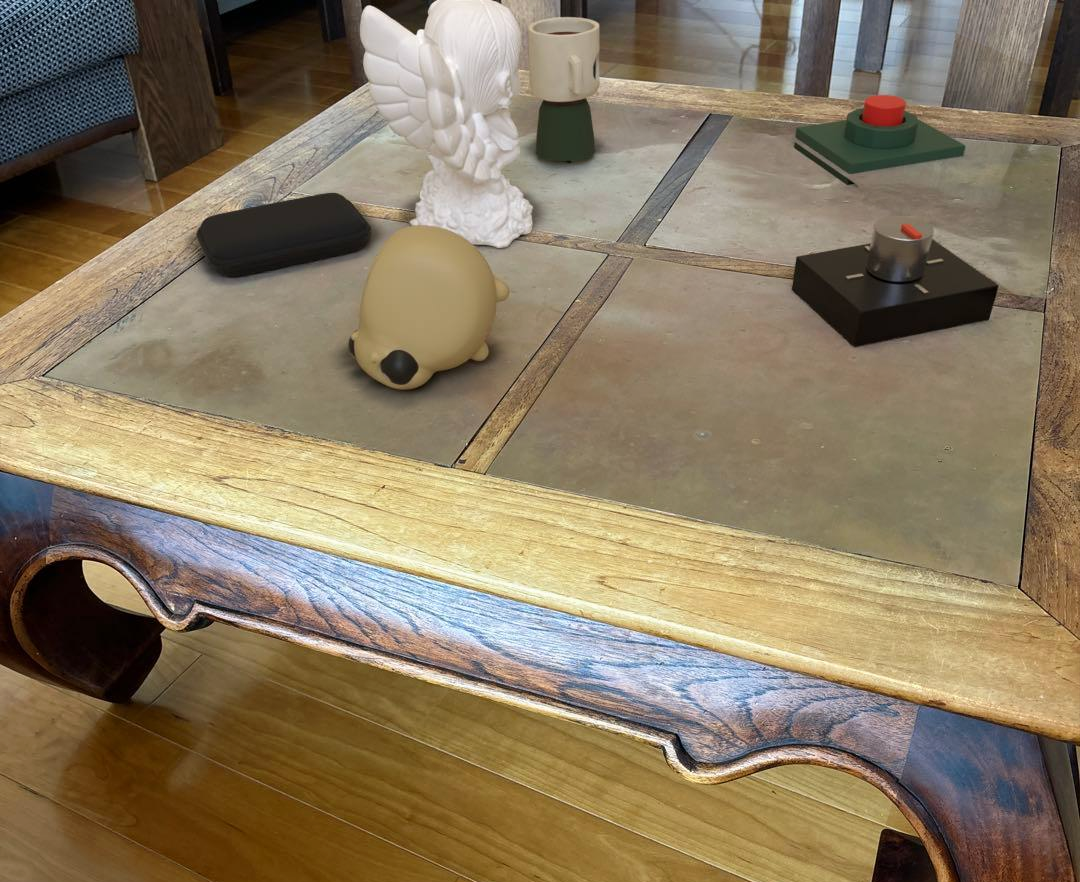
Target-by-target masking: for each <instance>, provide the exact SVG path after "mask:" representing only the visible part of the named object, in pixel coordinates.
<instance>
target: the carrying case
mask: <svg viewBox="0 0 1080 882" xmlns="http://www.w3.org/2000/svg"><path fill="white" fill-rule="evenodd" d="M372 231H373V229H372V226H371V225H370V224H369V223H368V221H367V220H366V219H365V218H364V217H363V215H362V214H361V212H359V210H358V209H357V208H356V206H355V205H354V204H353V202H352V201H350V200H349V199H347V198H346V197H345V196H344V195H342V194H341V193H338V192H324V193H318V194H314V195H308V196H302V197H297V198H292V199H287V200H281V201H277V202H272V203H265V204H262V205H261V204H260V205H256V206H250V207H247V208H241V209H235V210H231V211H226V212H222V213H216V214H213V215H210V216H207V217H205V218H204V219H203V220H202V222H201V224H200V226H199V227H198V229H197V231H196V234H195V235H196V240H197V242H198V244H199V246H200V249H201V250H202V253H203V255H204V257H205V260H206V261H207V263H208V265H209V267H211V269H213V270H215V271H217V272H218V273H219V274H221V275H222V276H225V277H231V278H232V277H234V278H235V277H242V276H247V275H251V274H257V273H261V272H265V271H270V270H276V269H280V268H285V267H290V266H294V265H300V264H304V263H309V262H313V261H318V260H323V259H327V258H331V257H336V256H341V255H345V254H349V253H354V252H356V251H359V250H361V249H362V248H364V247H365V246H366V244H367V242H368V241H369V240H370V238H371V237H372V233H373V232H372Z"/></svg>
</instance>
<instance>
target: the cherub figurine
mask: <svg viewBox="0 0 1080 882" xmlns="http://www.w3.org/2000/svg"><path fill="white" fill-rule="evenodd" d="M427 14H428V15H427V18H426V22H425V25H424V28H423V29H422V28H421V29H418V30H417V32H416V34H414V33H413V32H412V31H410V30H409V29H408V28H406V27H405V26H403V24H402V25H401V23H399V22H398V21H397V20H396V19H393V18H391V17H390V16H389V15H388V14H386V13H385V12H383V11H381V9H379V8H377V7H376V6H373V5H366V6H365V7H364V8H363V10H362V13H361V16H360V24H359V36H360V42H361V44H362V46H363V48H364V50H365V52H364V54H363V58H362V63H363V65H362V66H363V70H364V74H365V76H366V78H367V80H368V92H369V97H370V98H371V100H372V101H373V103H375V106H376V110H377V112H378V114H379V115H380V116H381V117H382V119H384V120H386V121H387V124H388V127H389V128H390V130H391V131H392V132H393V133H394V134H396V135H397V136H398V137H403V138H404V139H405V141H406V142H407V143H408V144H409V145H411V146H412V147H414V148H415V149H417V150H426V151H427V152H429V154H428V155H427V159H428V160H429V162H430V163H431V165H432V169H431V170H429V171H428V172H427V173H425V175H424V178H423V181H422V189H421V190H420V191H419V192H418V193H419V194H418V197H419V199H420V200H419V201H417V202H415V208H414V212H415V218H413V219H410V221H409V224H410V226H414V225H428V226H435V227H440V228H443V229H447V230H449V231H452V232H454V233H456V234H458V235H460V236H462V237H463V238H465V239H467V240H468V241H469V242H471V243H472V244H473V245H481V246H482V245H483V246H485V245H486V246H492V247H495V248H497V249H503V248H508V247H509V246H510V244H512V241H514V240H516V239H518V238H519V237H520V236H521V235H530V234H531V233H532V230H533V223H534V222H533V216H532V214H533V210H534V207H533V205H532V204H530V201H529V200H528V199H526V198H524V193H523V192H522V191H521V189H519V187H518V186H516V185H511V184H512V183H511V181H510V178H506V177H505V175H504V174H502V170H503V168H505V167H506V166H508V165H509V164H511V163H513V162H515V161H517V160H518V158H519V157H520V156H521V146H520V140H519V132H518V128H517V126H516V124H515V122H514V121H513V119H512V118H511V111H510V110H509V108H507V107H509V106H511V105H512V103H513V101H514V100H516V99H517V98H518V97H519V95H520V93H521V89H522V88H521V87H522V84H521V83H522V82H521V78H520V77H521V76H520V72H519V71H520V70H519V67H518V66H519V62H520V54H521V51H522V50H521V49H522V32H521V28H520V26H519V23H518V22H517V20H516V17H515V16H514V13H512V11H511V10H510V9H509V8H508V7H507V6H505V5H503V4H502V3H500V2H498V1H496V0H435V1H434V2H432V3H431V4H430V6H429V8H428V10H427Z"/></svg>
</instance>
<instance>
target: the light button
mask: <svg viewBox="0 0 1080 882" xmlns="http://www.w3.org/2000/svg"><path fill="white" fill-rule="evenodd" d="M906 106H907V101H906V100H905V99H903V98H902V97H899V96H895V95H890V94H889V95H888V94H876V95H872V96H868V97H867V98H865V99H864V104H863V108H864V109H863V115H862V121H863V122H864V123H867V124H871V125H875V126H896V125H901V124H902V122H903V117H904V112H905V111H906Z"/></svg>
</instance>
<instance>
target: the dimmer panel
mask: <svg viewBox="0 0 1080 882" xmlns="http://www.w3.org/2000/svg"><path fill="white" fill-rule="evenodd" d="M870 245H871V242H869V243H865V244H857V245H852V246H848V247H842V248H836V249H831V250H825V251H819V252H814V253H808V254H802V255H798V256H796V257H795V263H794V264H795V265H794V269H793V270H794V271H793V278H792V284H791V291H792V292H793V293H794V294H795V295H797V296H798V297H799V298H800V299H801V300H802V301H803V302H804V303H806V304H807V305H808V307H810V308H811V309H812V310H813V311H814V312H815V313H816V314H818V316H820V317H821V318H822V319H823V320H824V321H825V322H826V323H827V324H828V325H830V326H831V328H833V329H834V330H835V331H836V332H837V333H838V334H839V335H841V336H842V337H843V338H844V339H845V340H846V341H847V342H848V343H849V344H850V345H852V347H854V348H857V347H861V346H866V345H871V344H876V343H881V342H886V341H890V340H891V341H892V340H896V339H901V338H906V337H911V336H916V335H921V334H925V333H926V334H927V333H931V332H935V331H942V330H946V329H950V328H954V327H960V326H965V325H971V324H975V323H981V322H985V321H989V320H990V318H991V315H992V311H993V308H994V304H995V302H996V298H997V295H998V294H997V293H998V290H999V287H1000V285H999V284H998V283H997V282H995V281H993V280H992V279H991V278H989V277H988V276H986V275H985V274H983V273H982V272H981V271H979V270H978V269H976V267H973V266H972V265H971V264H969V263H968V262H966V261H965V260H963V259H962V258H961V257H959V256H958V255H956V254H955V253H953V252H952V251H951V250H949V249H947V248H946V247H945V246H943V245H942V244H941V243H939V242H937V241H936V240H934V239H933V238H932V241H931V245H930V250H929V254H928V258H927V262H926V267H925V271H924V274H923V276H922V277H920V278H919V279H917V280H914V281H909V282H892V281H886V280H883V279H880V278H877V277H875V276H873V275H872V274H870V273H869V272H868V270H867V267H866V265H867V260H868V255H869V250H870Z"/></svg>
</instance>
